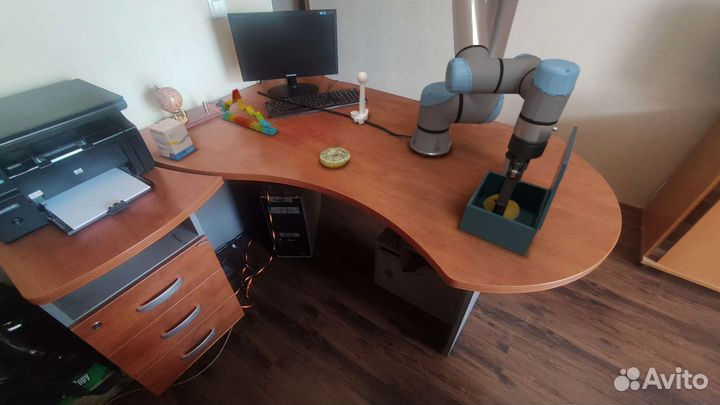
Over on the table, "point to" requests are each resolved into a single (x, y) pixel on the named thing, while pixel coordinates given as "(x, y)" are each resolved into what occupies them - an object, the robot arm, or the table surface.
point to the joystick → (361, 100)
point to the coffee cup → (507, 162)
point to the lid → (557, 177)
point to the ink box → (172, 138)
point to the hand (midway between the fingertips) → (499, 210)
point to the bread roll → (511, 210)
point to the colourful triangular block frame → (261, 126)
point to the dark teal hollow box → (500, 228)
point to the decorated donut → (334, 157)
